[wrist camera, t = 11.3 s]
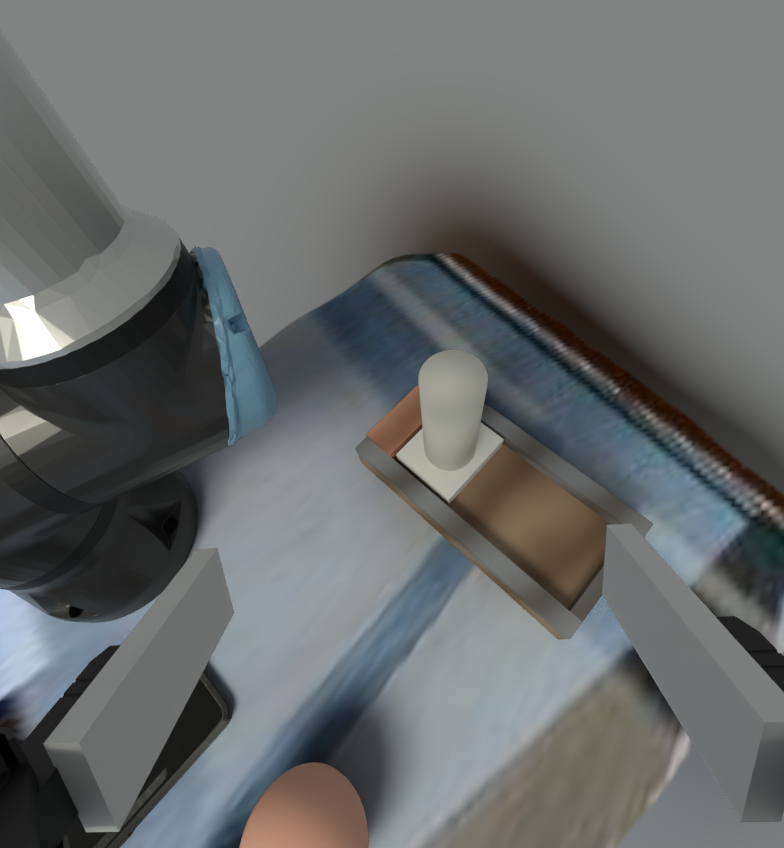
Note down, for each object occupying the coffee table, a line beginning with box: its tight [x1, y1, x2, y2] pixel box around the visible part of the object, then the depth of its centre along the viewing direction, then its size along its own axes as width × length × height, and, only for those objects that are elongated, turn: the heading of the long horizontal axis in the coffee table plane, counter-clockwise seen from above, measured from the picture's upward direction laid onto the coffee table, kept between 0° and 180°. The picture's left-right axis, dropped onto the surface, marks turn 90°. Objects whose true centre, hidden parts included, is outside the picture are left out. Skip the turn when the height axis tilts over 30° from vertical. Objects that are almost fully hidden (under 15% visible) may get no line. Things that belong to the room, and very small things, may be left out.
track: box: [356, 384, 653, 639], centre depth 37 cm, size 22×11×4 cm, turn 46°
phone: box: [66, 669, 232, 848], centre depth 33 cm, size 8×1×15 cm
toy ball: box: [239, 762, 369, 848], centre depth 27 cm, size 8×8×8 cm
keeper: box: [396, 350, 504, 505], centre depth 33 cm, size 6×7×12 cm
